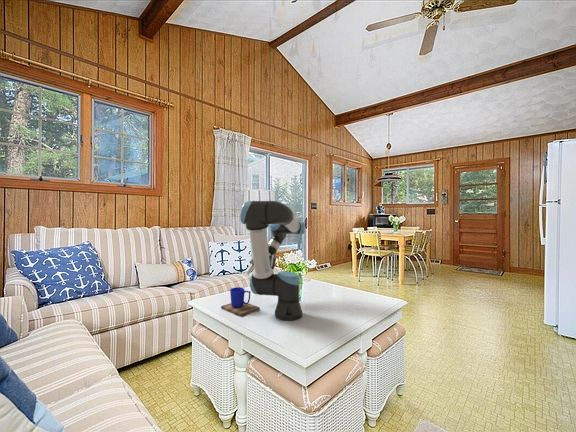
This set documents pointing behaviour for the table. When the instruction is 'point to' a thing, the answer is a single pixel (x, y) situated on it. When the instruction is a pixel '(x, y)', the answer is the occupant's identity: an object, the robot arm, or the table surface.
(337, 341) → the table surface
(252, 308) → the walnut board
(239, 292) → the mug
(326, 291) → the table surface
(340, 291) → the table surface
